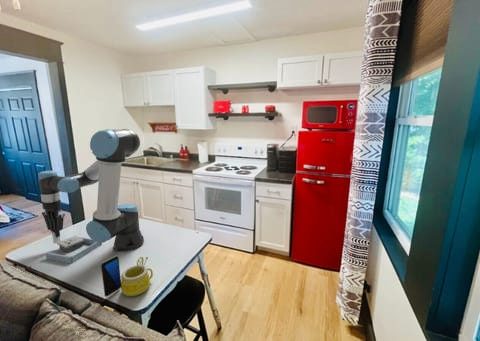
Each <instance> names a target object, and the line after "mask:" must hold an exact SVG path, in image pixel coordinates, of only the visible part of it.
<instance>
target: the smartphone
mask: <svg viewBox="0 0 480 341" xmlns="http://www.w3.org/2000/svg"><path fill="white" fill-rule="evenodd" d="M100 269H101V277H102V284H103V286H102V287H103V292H104V293H103V294H104V297H106V298H107V297H109V296H111V295H112V294H114V293H116V292H117V291H119V290H121V280H122V278H121V271H120V270H121V269H120V260H119V256H118V255H113V256H112V257H110V258H108V259H107V260H104V261H102V262H101V263H100Z"/></svg>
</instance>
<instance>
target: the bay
mask: <svg viewBox="0 0 480 341" xmlns="http://www.w3.org/2000/svg"><path fill="white" fill-rule="evenodd" d="M79 237H80V238H82V239H84V241H83V242H82V244H88V245H89V244H90V245H89V246H87V247H84V248H83V249H81V250H79V251H78V252H75V254H73V255H71V256H70V255H64V254H58V253H53V252H48V251H47V252H45V257H46V260H51V261H57V262H61V263H62V262H63V263H67V264H73V263H75V262H77V261H78V260H80V259H82V258H83V257H85V256H86V255H88V254H90V253H91V252H93V251H94V250H95V249H97V248H99V247H100V246H102V244H103V243H98V242H95V241H93V240H92V239H91V238H90V237H85V236H84V237H83V236H82V237H81V236H79Z"/></svg>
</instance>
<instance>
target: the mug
mask: <svg viewBox="0 0 480 341" xmlns="http://www.w3.org/2000/svg"><path fill="white" fill-rule="evenodd" d="M148 257H149V256H146V258H145V261H144V257H142V256H139V257H138V259H137V260H136V265H134V266H133V265H132V266H129V267H128V268H126V269H125V270H124V271H123V272H122V273H121V274H120V277H121V288H120V290H121V293H122V294H123V295H124V296H127V297H134V296H139V295H140V294H143V293H144V292H146V290H148V288H149V287H150V284H151V279H152V278H153V276H154V275H153V274H154V272H153V270H152V268H150V267H149V268H147V266H145V264H146V263H147V260H148V259H149V258H148ZM148 271H149V272H150V275H149V272H148Z"/></svg>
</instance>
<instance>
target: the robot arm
mask: <svg viewBox="0 0 480 341" xmlns="http://www.w3.org/2000/svg"><path fill="white" fill-rule="evenodd" d="M140 146H141V140H140V137H139V135H138V134H137V133H136V132H135V131H133V130H130V129H128V128H127V129H125V128H124V129H123V128H122V129H102V130H98V131H97V132H95V133H94V134H93V135H92V136H91V138H90V142H89V148H90V150H91V151H92V152H91V153H92V155H93V156H94V157H95V161H94V162H93V163H92V164H91V165H90V166H89V167H87V168H86V169H85V170H84V171H82V172H78V173H74V174H70V175H65V176H59V174H58V172H57V171H56V170H44V171H40V172H38V174H37V175H38V184H39V190H40V191H39V192H40V198H41V205H42V209H43V210H44V211H43V212H41V216H43V219H44V222H45V225H46V228H47V230H48V231H49V230H50V232H51V236H52V241H53V244H57V243H58V242H60V241H61V233H60V231H62V230H63V229H64V217H65V213H62V212H61V210H60V208H61V206H62V201H61V194H60V192H61V193H67V194H68V193H69V194H70V193H74V192H76V191H77V190H78V189H81V188H84V187H87V186H91V185H94V184H97V183H98V185H97V186H98V188H97V200H96V201H97V205H96V210H95V211H94V212H93V213H92V220H91V221H90V220H89V222H88V223H87V224H86V226H85V230H86V234H87V236H88V238H90V239H92V240H93V241H95V242H98V243H102V244H103V243H105V242H108V241H110V240H111V239H112V238H114V241H113V248H114V250H115V251H116V252H117V251H118V252H128V251H134V250H136V249H138V248H140V247H142V246H143V245H144V243H145V240H144V238H145V237H144V235H142V234H143V233H142V232H141V229H140V219H139V208H138V206H137V205H136V204H133V203H121V204H119V198H120V197H119V195H120V184H121V182H120V181H121V174H122V171H121V170H122V164H124V163H125V162H126V159H127V158H130V157H131V156H132V155H134V154H135V153H136V152H137V151H138V150H139V149H140Z"/></svg>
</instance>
